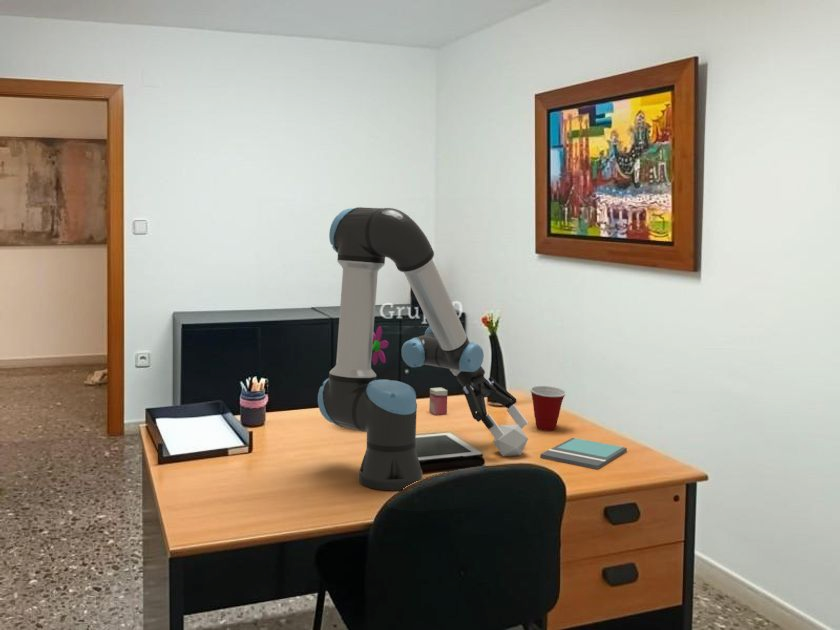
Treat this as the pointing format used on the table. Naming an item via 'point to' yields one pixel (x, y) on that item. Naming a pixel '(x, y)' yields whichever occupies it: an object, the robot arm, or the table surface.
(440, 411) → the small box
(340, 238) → the robot arm
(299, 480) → the table surface
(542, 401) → the plastic cup
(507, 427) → the die
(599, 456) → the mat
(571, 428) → the table surface
